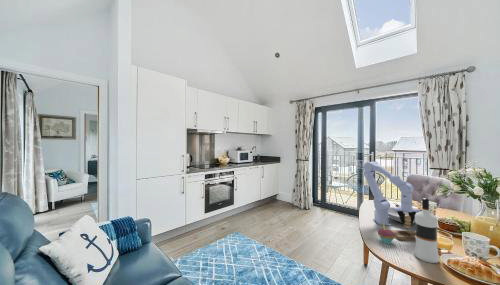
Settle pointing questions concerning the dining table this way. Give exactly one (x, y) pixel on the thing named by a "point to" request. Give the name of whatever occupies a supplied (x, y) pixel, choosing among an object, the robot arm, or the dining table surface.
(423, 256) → the vodka
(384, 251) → the dining table surface
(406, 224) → the peg
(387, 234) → the cupcake
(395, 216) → the soup bowl
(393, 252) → the dining table surface
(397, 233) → the seat board
